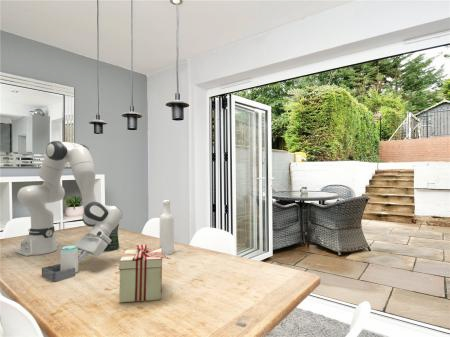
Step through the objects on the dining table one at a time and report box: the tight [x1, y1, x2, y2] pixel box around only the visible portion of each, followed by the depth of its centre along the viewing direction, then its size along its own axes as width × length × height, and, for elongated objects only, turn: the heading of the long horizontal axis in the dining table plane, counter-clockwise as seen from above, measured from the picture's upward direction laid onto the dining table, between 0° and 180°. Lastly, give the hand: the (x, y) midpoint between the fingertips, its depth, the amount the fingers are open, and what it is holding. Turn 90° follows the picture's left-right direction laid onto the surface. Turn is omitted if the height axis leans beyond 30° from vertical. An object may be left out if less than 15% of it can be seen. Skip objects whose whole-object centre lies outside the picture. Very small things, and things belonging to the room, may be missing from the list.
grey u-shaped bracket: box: [41, 262, 76, 283], centre depth 125 cm, size 9×12×4 cm
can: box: [60, 244, 79, 274], centre depth 128 cm, size 7×7×12 cm
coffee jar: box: [103, 223, 120, 252], centre depth 167 cm, size 10×8×19 cm
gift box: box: [118, 243, 171, 303], centre depth 108 cm, size 17×18×17 cm
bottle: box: [159, 199, 175, 256], centre depth 159 cm, size 8×8×30 cm
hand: (78, 260), depth 132 cm, fingers closed, pressing on can
